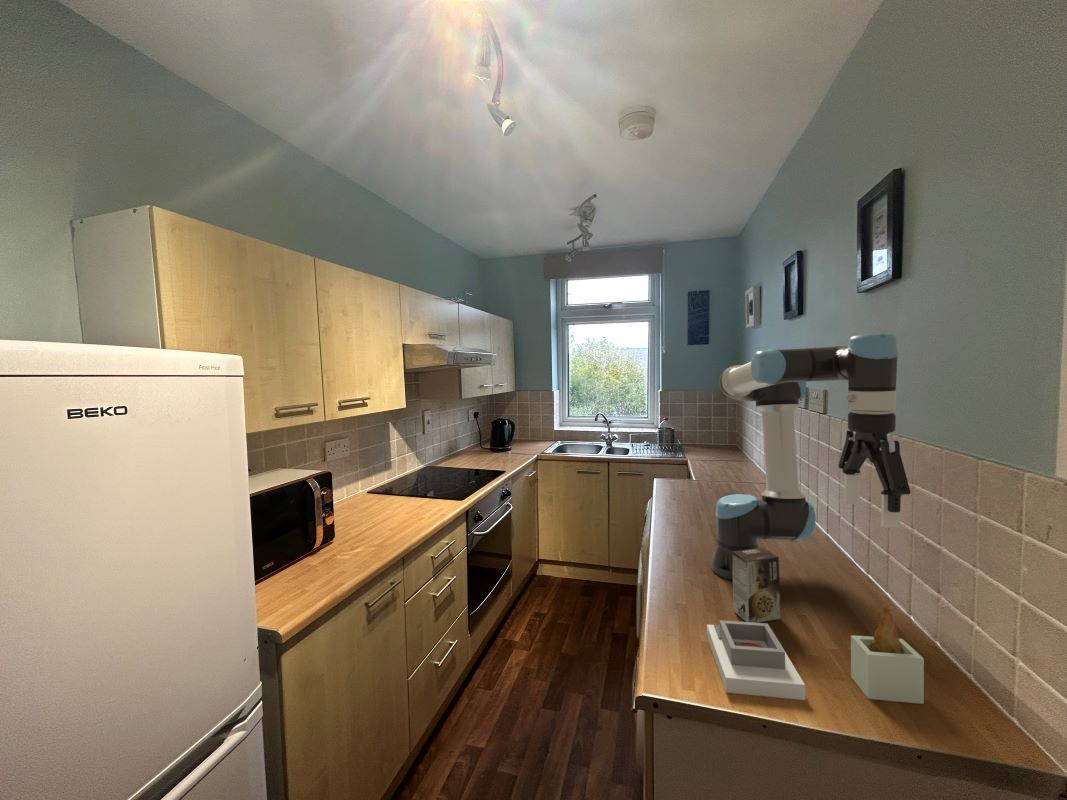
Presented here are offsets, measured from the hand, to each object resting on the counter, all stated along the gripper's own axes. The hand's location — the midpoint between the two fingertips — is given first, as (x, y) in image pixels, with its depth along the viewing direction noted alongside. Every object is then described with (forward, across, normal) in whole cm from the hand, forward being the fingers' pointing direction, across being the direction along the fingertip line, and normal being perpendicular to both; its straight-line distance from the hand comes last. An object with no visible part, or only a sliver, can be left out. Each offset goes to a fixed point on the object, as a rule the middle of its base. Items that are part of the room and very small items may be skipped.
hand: (869, 514), depth 87 cm
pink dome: (+31, +4, -24) cm, 40 cm away
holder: (+32, +8, -1) cm, 33 cm away
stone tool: (+31, +8, -1) cm, 32 cm away
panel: (+32, +4, -24) cm, 40 cm away
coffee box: (+33, -16, -17) cm, 40 cm away
